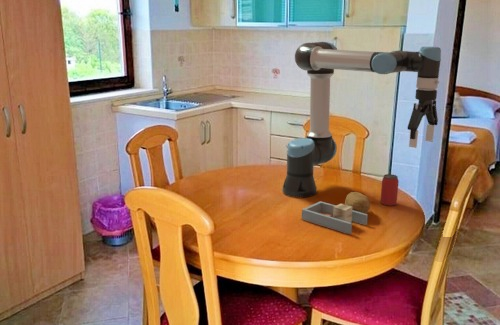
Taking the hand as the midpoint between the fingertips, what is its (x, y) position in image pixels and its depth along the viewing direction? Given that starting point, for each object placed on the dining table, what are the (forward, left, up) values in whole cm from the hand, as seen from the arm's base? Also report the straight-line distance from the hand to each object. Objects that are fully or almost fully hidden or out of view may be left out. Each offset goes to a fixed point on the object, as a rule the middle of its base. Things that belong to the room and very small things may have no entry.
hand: (421, 144), depth 191 cm
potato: (-16, -18, -28) cm, 37 cm away
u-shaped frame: (-17, -31, -28) cm, 45 cm away
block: (-14, -31, -28) cm, 44 cm away
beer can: (-12, +1, -28) cm, 30 cm away
